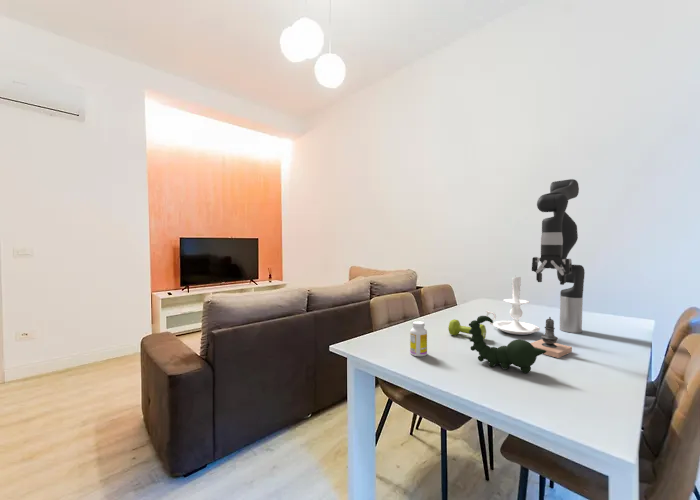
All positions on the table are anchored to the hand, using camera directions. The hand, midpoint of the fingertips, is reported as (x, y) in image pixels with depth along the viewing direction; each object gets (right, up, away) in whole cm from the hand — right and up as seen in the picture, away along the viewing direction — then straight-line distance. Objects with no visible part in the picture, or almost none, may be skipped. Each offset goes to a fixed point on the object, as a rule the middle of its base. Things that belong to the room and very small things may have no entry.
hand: (550, 283), depth 132 cm
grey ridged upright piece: (0, -26, +1) cm, 26 cm away
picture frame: (+5, -27, +4) cm, 27 cm away
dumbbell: (-27, -28, +20) cm, 44 cm away
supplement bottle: (-55, -29, -2) cm, 62 cm away
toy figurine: (-26, -29, -16) cm, 42 cm away
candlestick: (-2, -27, +29) cm, 40 cm away
